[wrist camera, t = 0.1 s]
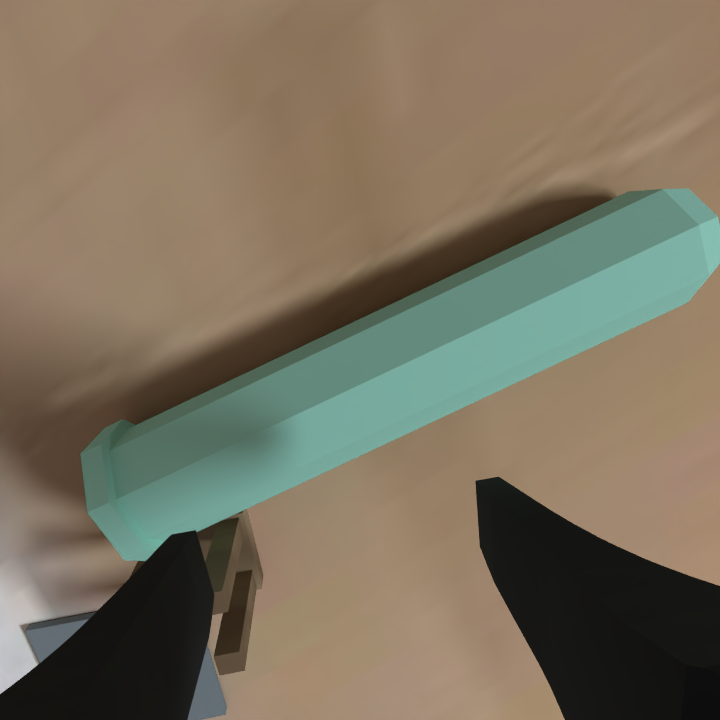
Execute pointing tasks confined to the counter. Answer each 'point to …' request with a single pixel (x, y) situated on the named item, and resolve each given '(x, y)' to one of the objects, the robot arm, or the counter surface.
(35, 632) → the mat
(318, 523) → the counter surface
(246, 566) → the stool
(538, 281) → the container
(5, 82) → the counter surface
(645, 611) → the robot arm
